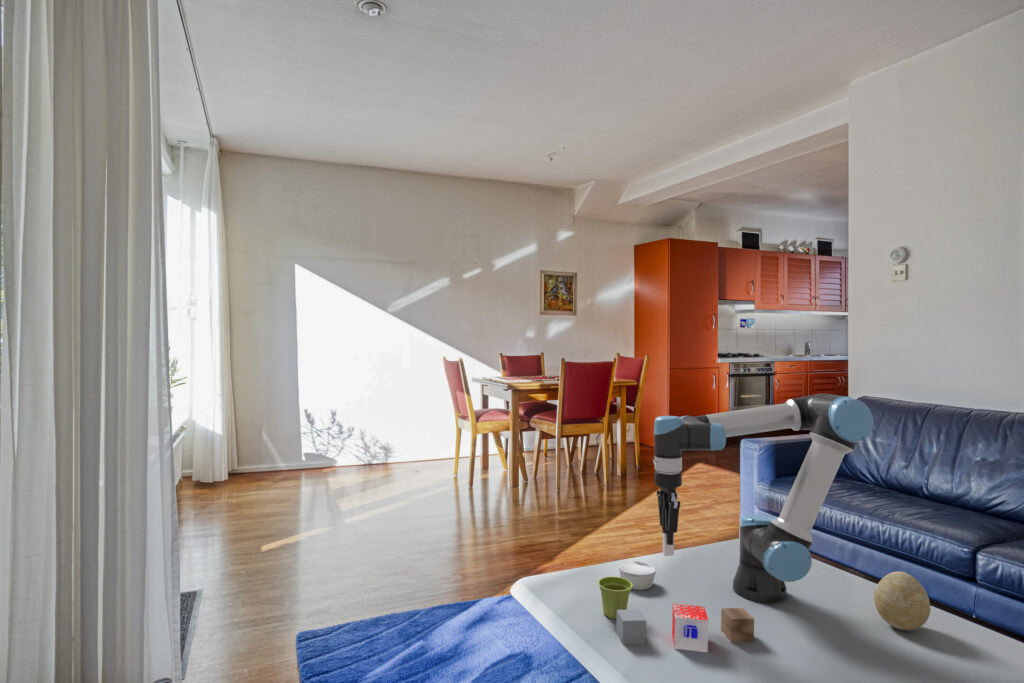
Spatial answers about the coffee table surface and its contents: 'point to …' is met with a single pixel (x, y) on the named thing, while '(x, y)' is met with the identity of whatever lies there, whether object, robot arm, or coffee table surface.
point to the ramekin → (637, 574)
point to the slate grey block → (631, 627)
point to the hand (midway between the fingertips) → (668, 554)
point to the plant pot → (614, 594)
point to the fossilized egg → (902, 601)
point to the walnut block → (737, 624)
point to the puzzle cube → (690, 627)
